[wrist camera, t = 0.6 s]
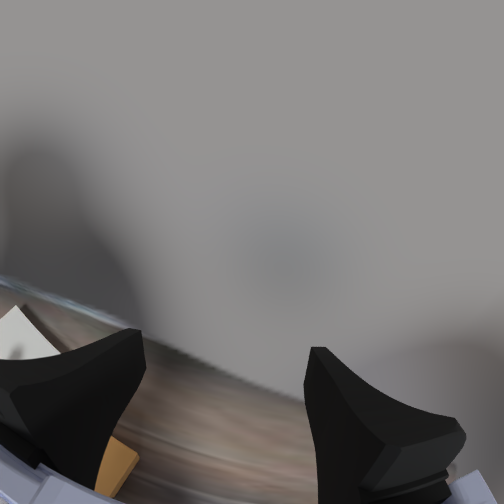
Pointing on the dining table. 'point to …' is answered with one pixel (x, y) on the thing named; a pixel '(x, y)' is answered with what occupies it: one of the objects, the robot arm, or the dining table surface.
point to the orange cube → (115, 467)
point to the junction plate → (22, 338)
